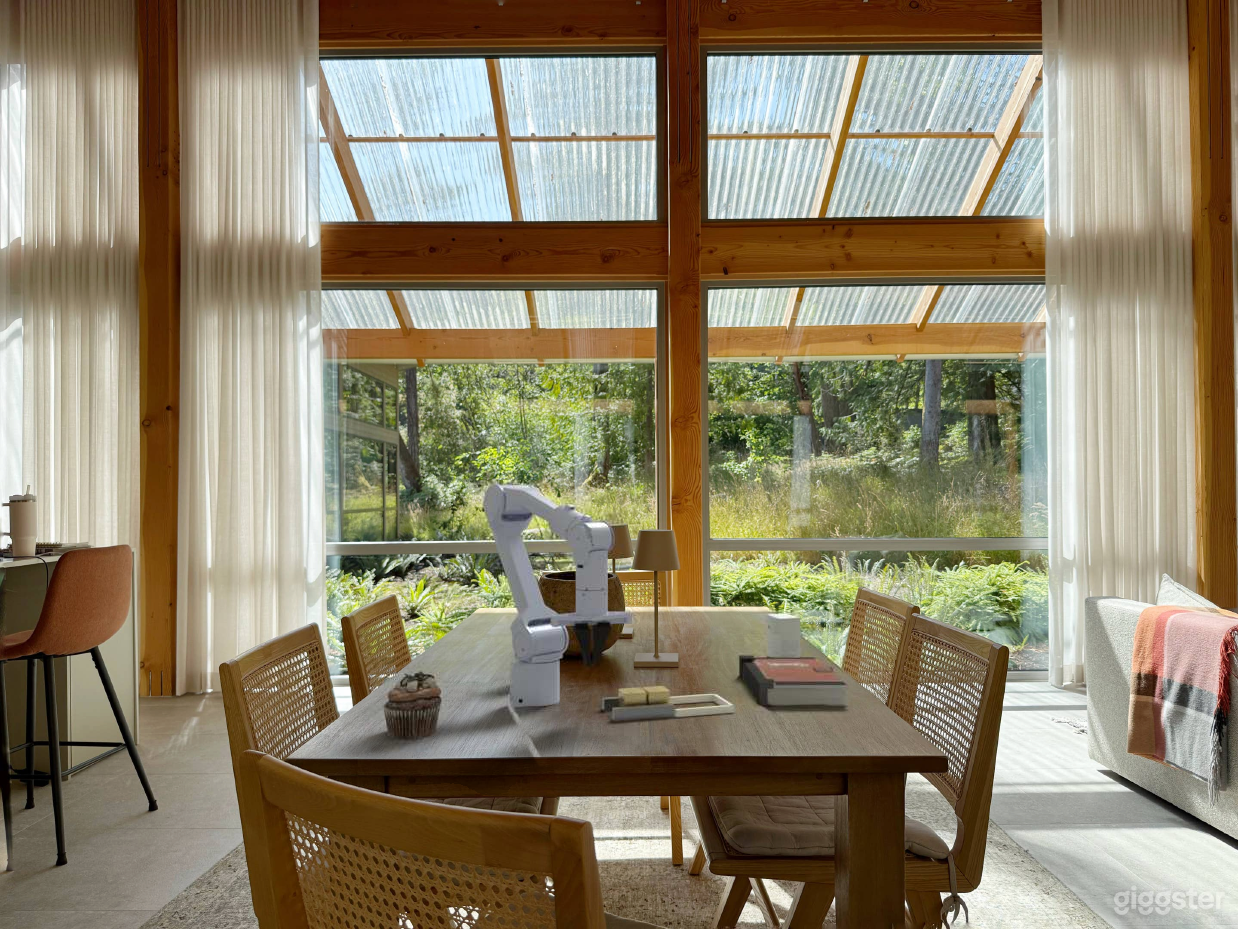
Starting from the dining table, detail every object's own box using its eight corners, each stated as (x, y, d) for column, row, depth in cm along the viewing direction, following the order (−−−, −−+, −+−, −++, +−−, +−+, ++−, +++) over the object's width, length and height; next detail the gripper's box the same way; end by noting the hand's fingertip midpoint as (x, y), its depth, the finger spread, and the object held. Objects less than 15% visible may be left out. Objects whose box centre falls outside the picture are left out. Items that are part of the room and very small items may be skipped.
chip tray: (676, 722, 145) (676, 710, 145) (660, 709, 153) (660, 697, 154) (734, 717, 147) (734, 705, 148) (715, 705, 156) (715, 693, 156)
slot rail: (614, 726, 142) (614, 709, 142) (602, 714, 150) (602, 697, 150) (674, 722, 145) (673, 705, 145) (659, 710, 153) (659, 693, 153)
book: (851, 709, 155) (851, 682, 155) (759, 709, 155) (759, 682, 155) (817, 677, 181) (817, 655, 182) (739, 678, 181) (739, 655, 182)
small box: (801, 661, 197) (801, 617, 197) (780, 662, 195) (779, 618, 196) (787, 655, 204) (786, 612, 205) (766, 656, 203) (766, 613, 204)
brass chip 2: (648, 714, 146) (648, 692, 146) (642, 709, 150) (642, 687, 150) (670, 713, 147) (669, 690, 147) (663, 707, 151) (662, 685, 151)
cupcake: (414, 721, 146) (415, 665, 146) (452, 730, 140) (453, 671, 141) (370, 734, 138) (371, 675, 138) (409, 744, 132) (409, 682, 133)
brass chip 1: (624, 716, 145) (624, 693, 145) (618, 710, 149) (618, 688, 149) (646, 715, 146) (646, 692, 146) (639, 709, 150) (639, 687, 150)
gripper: (555, 593, 140) (555, 672, 140) (636, 590, 144) (637, 667, 144) (548, 588, 147) (548, 664, 147) (626, 586, 151) (626, 659, 150)
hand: (591, 665), depth 146 cm, fingers closed
